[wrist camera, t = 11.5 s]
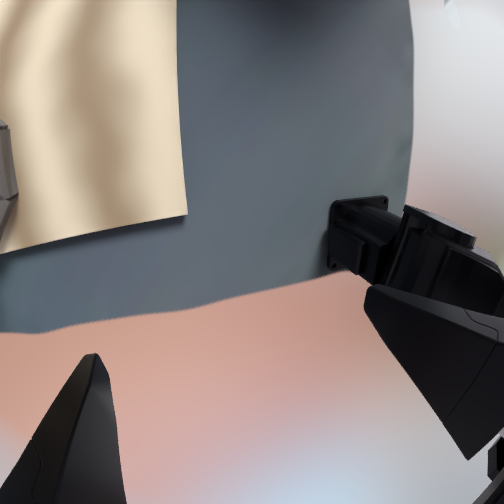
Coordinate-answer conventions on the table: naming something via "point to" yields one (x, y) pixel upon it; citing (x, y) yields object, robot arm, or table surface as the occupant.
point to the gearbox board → (87, 118)
